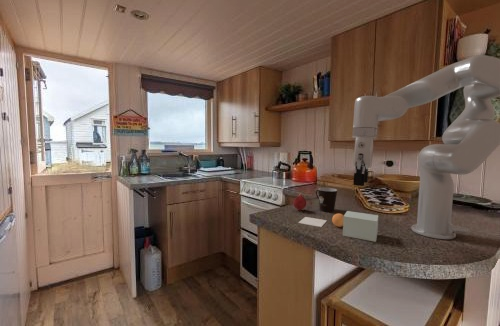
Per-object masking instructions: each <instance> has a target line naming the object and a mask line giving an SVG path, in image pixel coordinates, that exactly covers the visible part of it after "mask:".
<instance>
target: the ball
mask: <svg viewBox="0 0 500 326" xmlns="http://www.w3.org/2000/svg"><path fill="white" fill-rule="evenodd" d="M344 215H345V214H343V213H335V214H334V215H333V216H332V219H331V221H332V223H333V225H334V226H335V227H337V228H343V216H344Z"/></svg>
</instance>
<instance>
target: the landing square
mask: <svg viewBox="0 0 500 326" xmlns="http://www.w3.org/2000/svg"><path fill="white" fill-rule="evenodd" d="M327 221H328V220H326V219H322V218H321V219H320V218H314V217H309V216H305V217H303V218H302V219H301V220H299V221H298V222H297V223H298V224H300V225H301V224H302V225H307V226H312V227H317V228H322V227H323V226H324V225H325V224H326V223H327Z"/></svg>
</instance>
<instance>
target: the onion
mask: <svg viewBox="0 0 500 326" xmlns="http://www.w3.org/2000/svg"><path fill="white" fill-rule="evenodd" d="M302 195H303V194H302V193H299V194H298V195H297V196H295V198H294V199H293V202H292V203H293V206H294V208H295V209H296V210H298V211H302V210H303V209H305V208H306V205H307V200H306V198H305V197H304V196H302Z"/></svg>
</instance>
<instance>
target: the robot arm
mask: <svg viewBox="0 0 500 326" xmlns="http://www.w3.org/2000/svg"><path fill="white" fill-rule="evenodd" d="M461 88H463V97H464V102H465V103H464V104H465V105H464V106H465V107H464V109H463V111H462V112H461V113H460V114H459V115H458V116H457V117H456V119H455V120H454V121H453V122H451V124H450V125H449V126H448V127H447V128H446V129H445V130H444V132H443V134H442V136H441V139H442V143H435V144H430V145H427V146H425V147H423V148H422V149H421V150H420V151H419V153H418V156H417V162H418V169H419V188H418V202H417V214H416V215H417V216H416V217H417V220H416V223H414V224H412V225H411V231H413V232H414V233H416V234H418V235H419V236H420V235H421V236H424V237H427V238H433V239H437V240H453V239H455V238H457V237H456V236H457V235H456V234H457V233H460V234H466V235H469V233H470V230H469V229H470V228H468V227H463V226H461V225H454V224H453V222H452V212H453V211H452V210H453V202H454V201H453V200H454V188H455V186H454V185H455V184H454V180H453V177H452V175H461V176H463V175H468V174H471V173H473V172H475V171H476V170H477V169H478V168H479V167H480V166H481V165H482V164H483V163H484V162H485V161H486V160H487V159H488V158H489V157H490V156H491V155H492V153H494V152H495V151H496V150H497V148H498V147H499V146H500V122H499V121H497V120H495V115H496V111H495V108H494V106H493V103H492V101H491V99H494V98H495V99H496V98H499V97H500V58H497V57H495V56H491V55H485V54H476V55H474V56H470V57H468V58H467V57H466V59H465V58H464V59H462V60H459V61H457V62H454V63H452V64H450V65H447V66H445V67H443V68H441V69H438V70H437V71H435V72H433V73H430V74H429V75H426V76H424V77H422V78H420V79H417V80H416V81H413V82H411V83H410V84H408V85H405V86H403V87H401V88H399V89H398V90H395V91H393V92H390V93H388V94H387V95H384V96H376V95H362V96H359V97H357V98H355V100H354V106H353V107H354V108H353V121H352V122H353V124H352V135H351V138H352V139H355V140H354V151H353V166H354V172H353V182H352V183H353V184H352V185H353V186H359V187H364V186H365V183H368V181H369V168H371V167H373V153H374V139H377V135H378V125H379V122H383V121H390V120H396V119H400V118H401V117H402V116H404V115H405V114H406V113H407V111H408V109H410V108H414V107H418V106H423V105H425V104H429V103H431V102H434V101H436V100H438V99H441V97H444V96H446V95H448V94H450V93H452V92H454V91H457V90H459V89H461Z"/></svg>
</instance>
